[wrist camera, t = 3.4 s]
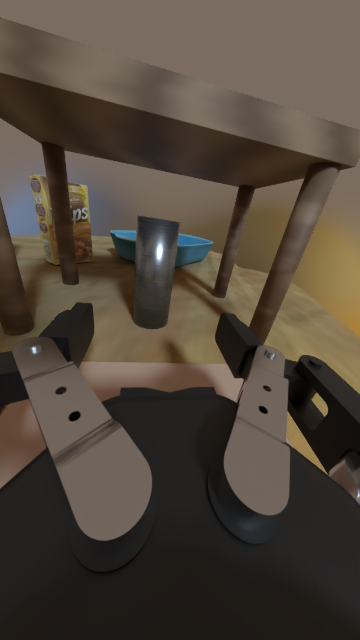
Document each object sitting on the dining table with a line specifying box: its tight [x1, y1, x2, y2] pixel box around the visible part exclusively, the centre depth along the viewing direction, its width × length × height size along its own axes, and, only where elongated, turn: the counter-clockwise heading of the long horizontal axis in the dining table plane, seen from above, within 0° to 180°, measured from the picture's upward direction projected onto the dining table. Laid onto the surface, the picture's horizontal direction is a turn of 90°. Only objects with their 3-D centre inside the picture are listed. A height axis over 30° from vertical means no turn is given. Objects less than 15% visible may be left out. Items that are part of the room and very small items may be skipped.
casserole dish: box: [110, 230, 213, 267], centre depth 61 cm, size 37×22×7 cm, turn 148°
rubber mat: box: [0, 362, 293, 488], centre depth 10 cm, size 18×16×1 cm
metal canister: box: [133, 215, 180, 329], centre depth 22 cm, size 4×4×12 cm
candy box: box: [30, 174, 93, 265], centre depth 40 cm, size 9×4×15 cm, turn 147°
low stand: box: [0, 18, 360, 344], centre depth 24 cm, size 30×18×20 cm, turn 98°
